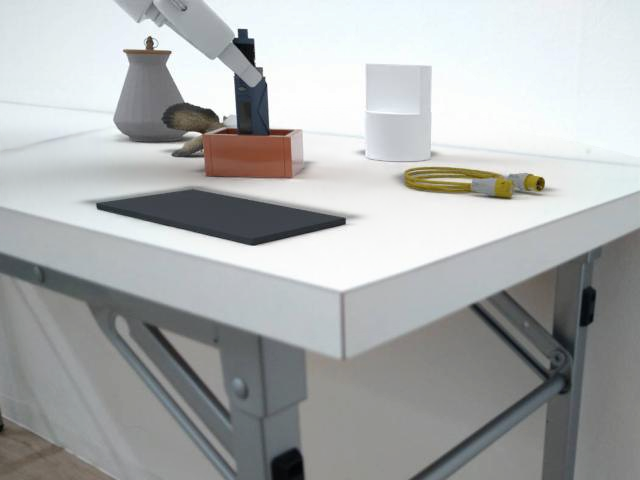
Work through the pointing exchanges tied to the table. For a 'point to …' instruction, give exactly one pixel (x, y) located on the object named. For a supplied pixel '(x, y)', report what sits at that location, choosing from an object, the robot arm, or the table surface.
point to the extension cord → (474, 181)
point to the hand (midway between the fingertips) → (256, 81)
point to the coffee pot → (147, 96)
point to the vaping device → (250, 93)
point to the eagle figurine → (194, 124)
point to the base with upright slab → (398, 112)
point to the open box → (253, 153)
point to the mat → (223, 215)
